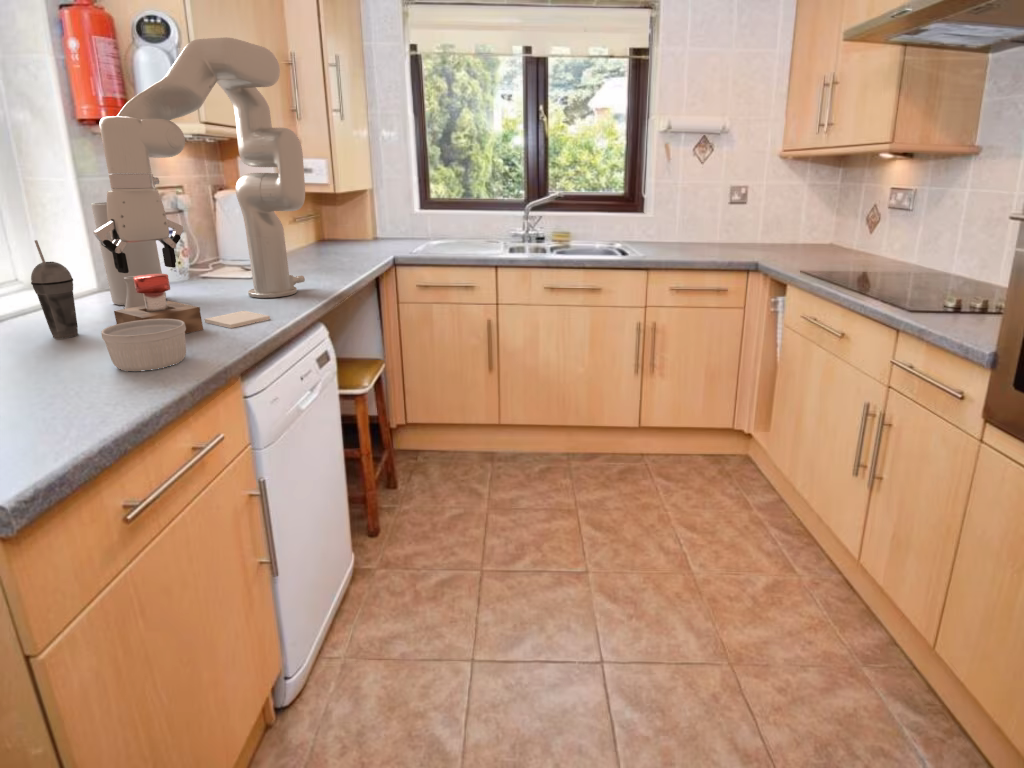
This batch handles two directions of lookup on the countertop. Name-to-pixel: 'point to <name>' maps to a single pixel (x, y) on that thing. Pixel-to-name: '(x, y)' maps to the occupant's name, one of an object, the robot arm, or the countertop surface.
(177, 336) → the ramekin
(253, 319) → the pad
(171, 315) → the eye block
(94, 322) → the countertop surface
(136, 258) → the cylinder vase
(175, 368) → the countertop surface
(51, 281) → the beverage cup
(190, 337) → the countertop surface
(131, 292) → the flask
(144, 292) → the spice jar
